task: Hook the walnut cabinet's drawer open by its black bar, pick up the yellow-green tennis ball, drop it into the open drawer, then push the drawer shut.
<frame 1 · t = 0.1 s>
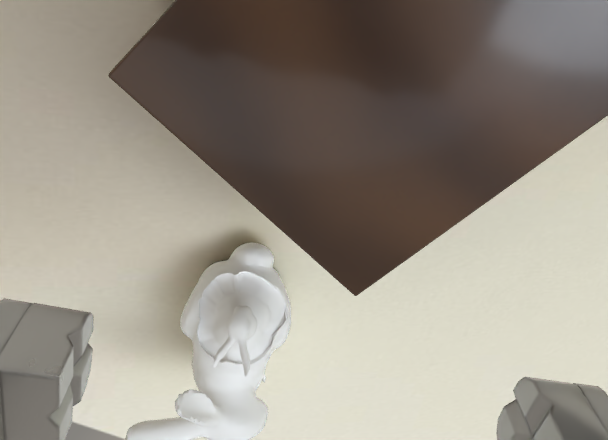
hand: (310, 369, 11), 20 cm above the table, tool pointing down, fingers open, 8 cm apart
rabbit figurine: (225, 304, 36), on the table
cabinet: (367, 8, 27), on the table
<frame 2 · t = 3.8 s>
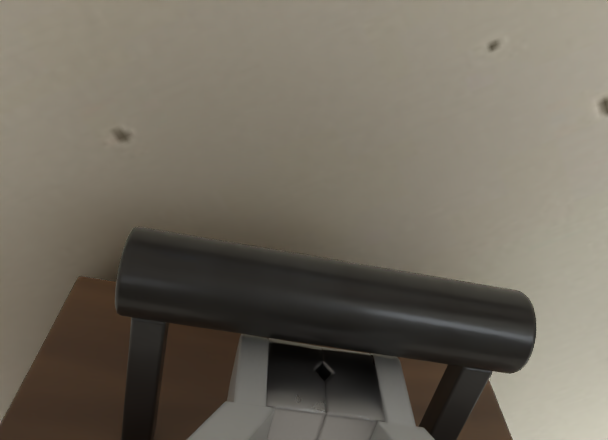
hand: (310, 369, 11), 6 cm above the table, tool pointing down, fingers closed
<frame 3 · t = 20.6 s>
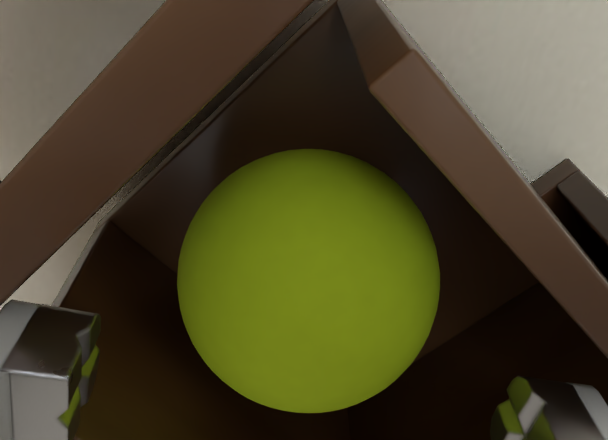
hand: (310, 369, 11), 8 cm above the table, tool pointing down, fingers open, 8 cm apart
drawer: (254, 220, 13), point 5 cm above the table, slide at 9.8 cm, touching ball, gripper
ball: (308, 277, 13), point 5 cm above the table, touching drawer
cabinet: (518, 384, 22), on the table
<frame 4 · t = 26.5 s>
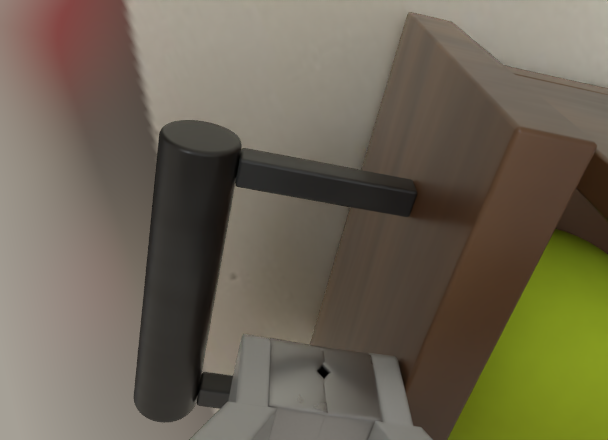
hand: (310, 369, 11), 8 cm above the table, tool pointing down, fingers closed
drawer: (531, 315, 14), point 5 cm above the table, slide at 9.3 cm, touching ball, gripper
ball: (520, 343, 14), point 5 cm above the table, tilted 43°, touching drawer
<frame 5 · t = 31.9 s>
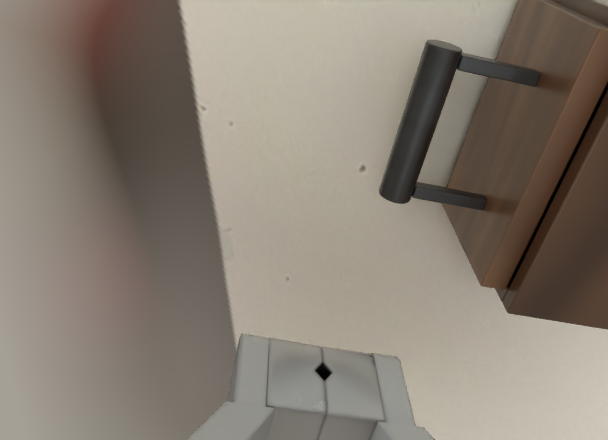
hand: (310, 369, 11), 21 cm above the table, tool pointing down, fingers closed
drawer: (587, 153, 27), point 5 cm above the table, slide at 0.0 cm, touching ball
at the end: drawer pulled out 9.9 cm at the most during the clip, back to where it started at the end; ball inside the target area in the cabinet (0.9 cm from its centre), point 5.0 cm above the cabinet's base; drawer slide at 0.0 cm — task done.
